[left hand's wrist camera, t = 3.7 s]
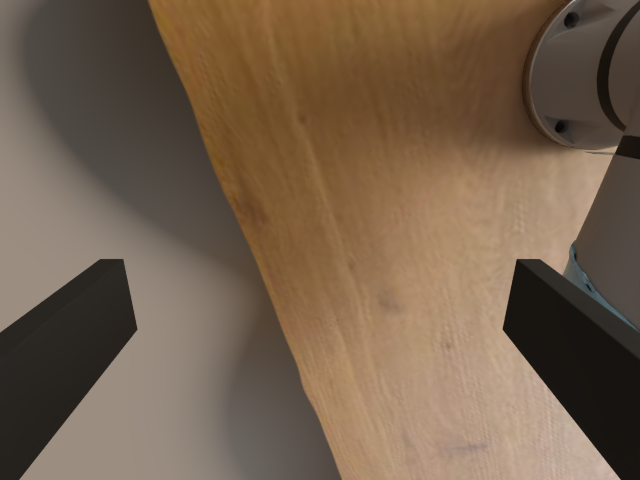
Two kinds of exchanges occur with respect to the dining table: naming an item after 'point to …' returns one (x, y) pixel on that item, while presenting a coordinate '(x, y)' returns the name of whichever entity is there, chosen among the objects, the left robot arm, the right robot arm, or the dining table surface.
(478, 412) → the dining table surface
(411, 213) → the dining table surface
